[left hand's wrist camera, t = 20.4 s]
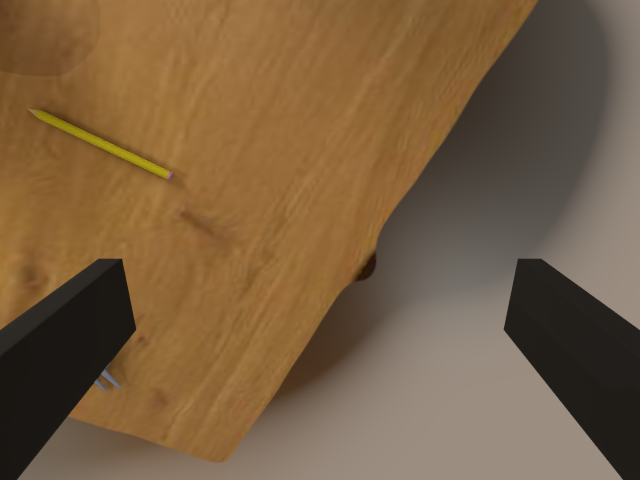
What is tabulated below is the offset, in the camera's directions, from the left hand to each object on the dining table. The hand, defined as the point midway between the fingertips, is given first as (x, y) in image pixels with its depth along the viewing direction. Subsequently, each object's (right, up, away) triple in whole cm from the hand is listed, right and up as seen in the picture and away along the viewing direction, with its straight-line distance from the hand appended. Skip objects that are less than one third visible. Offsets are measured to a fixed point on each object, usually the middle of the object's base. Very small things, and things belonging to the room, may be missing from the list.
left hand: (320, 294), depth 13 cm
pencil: (-25, +13, +30) cm, 41 cm away
